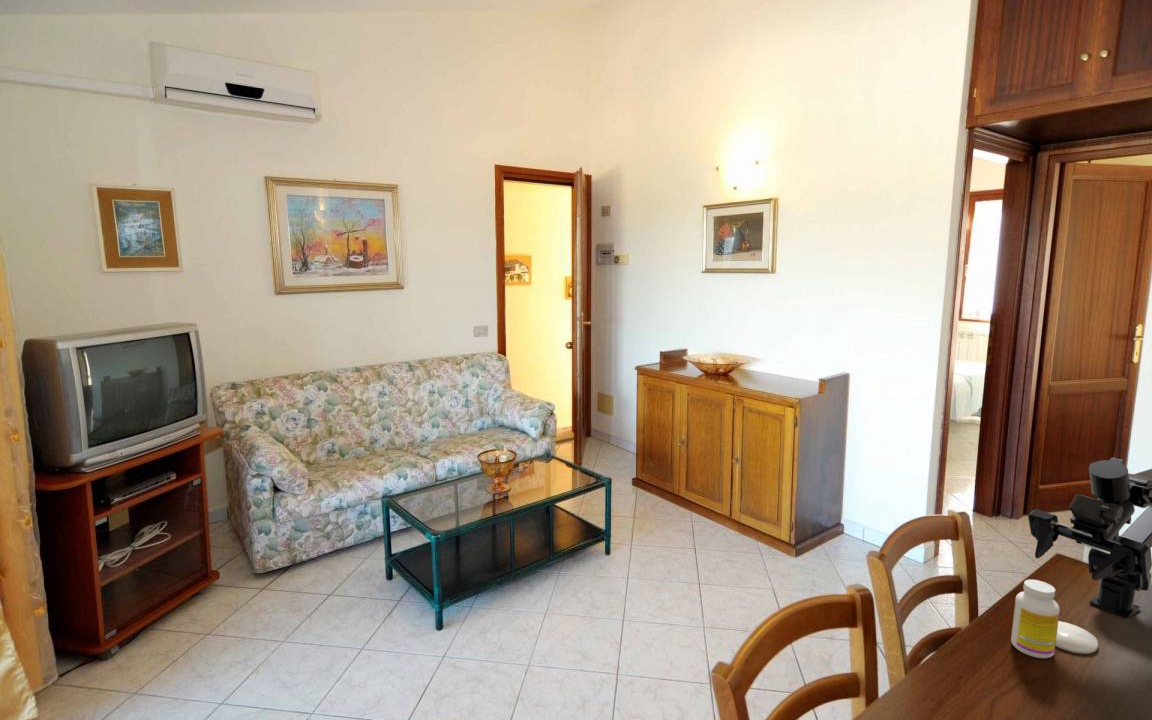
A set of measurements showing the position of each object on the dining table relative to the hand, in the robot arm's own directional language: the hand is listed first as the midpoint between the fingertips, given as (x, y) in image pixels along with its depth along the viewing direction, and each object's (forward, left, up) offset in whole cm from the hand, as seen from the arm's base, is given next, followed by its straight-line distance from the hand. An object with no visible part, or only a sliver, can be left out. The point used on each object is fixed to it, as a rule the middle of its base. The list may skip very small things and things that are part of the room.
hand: (1063, 567), depth 115 cm
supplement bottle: (+6, -1, -16) cm, 17 cm away
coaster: (-3, +1, -15) cm, 16 cm away
